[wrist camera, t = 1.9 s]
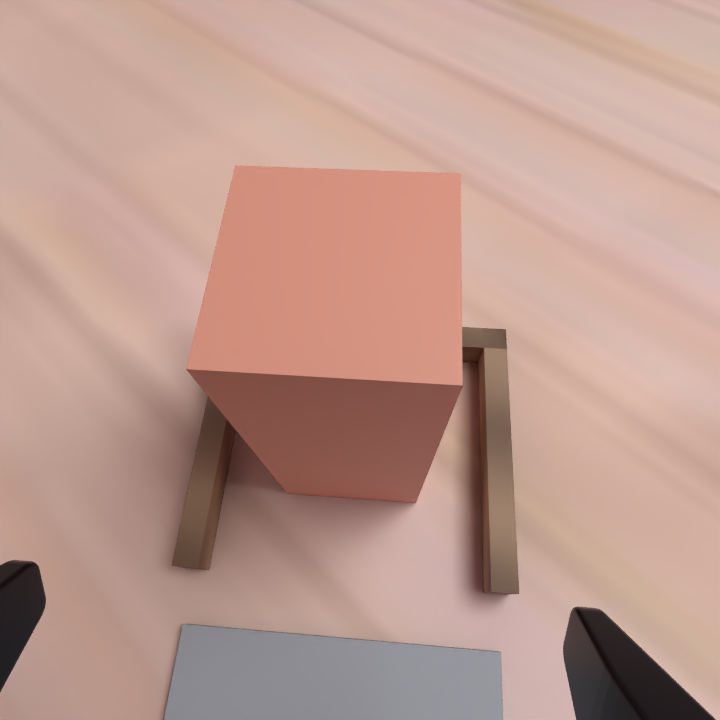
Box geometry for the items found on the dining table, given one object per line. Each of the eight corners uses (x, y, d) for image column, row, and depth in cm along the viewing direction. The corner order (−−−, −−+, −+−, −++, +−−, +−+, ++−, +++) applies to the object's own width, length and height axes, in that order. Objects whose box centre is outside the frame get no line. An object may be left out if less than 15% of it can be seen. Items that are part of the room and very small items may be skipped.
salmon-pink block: (415, 502, 22) (462, 385, 10) (287, 493, 22) (185, 368, 10) (419, 383, 24) (460, 173, 12) (303, 376, 24) (235, 165, 13)
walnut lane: (509, 594, 20) (519, 593, 19) (185, 567, 21) (171, 565, 20) (498, 344, 25) (505, 329, 23) (233, 330, 26) (225, 314, 24)
